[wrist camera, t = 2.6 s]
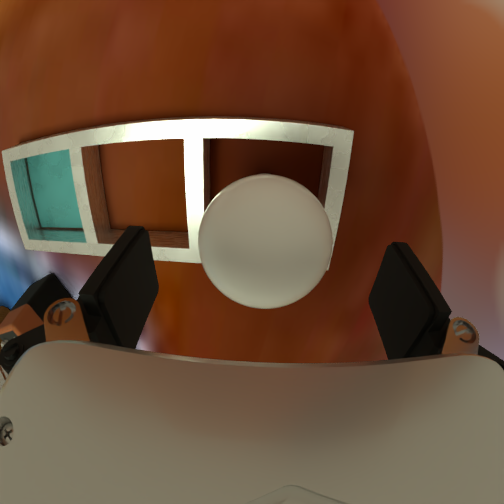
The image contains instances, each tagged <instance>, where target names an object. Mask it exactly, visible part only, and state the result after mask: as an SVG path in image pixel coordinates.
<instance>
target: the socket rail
mask: <svg viewBox="0 0 504 504" xmlns="http://www.w3.org/2000/svg"><path fill="white" fill-rule="evenodd" d="M353 134H354V131H352V130H350V129H348V128H345V127H343V126H336V125H330V124H323V123H315V122H307V121H297V120H287V119H275V118H259V117H232V116H201V117H174V118H159V119H147V120H137V121H128V122H120V123H113V124H106V125H99V126H93V127H88V128H82V129H77V130H72V131H67V132H62V133H58V134H54V135H50V136H45V137H42V138H38V139H34V140H30V141H27V142H23V143H20V144H17V145H15V146H12V147H10V148H8V149H6V150H3V151H2V156H3V163H4V169H5V174H6V180H7V185H8V189H9V194H10V198H11V202H12V206H13V210H14V214H15V217H16V221H17V224H18V228H19V231H20V234H21V237H22V240H23V243H24V246H25V249H27V250H38V251H49V252H60V253H72V254H83V255H96V256H106V254H107V253H108V252H109V250H110V249H111V248H112V246H113V245H114V244H115V243H116V241H117V240H118V239H119V237H120V236H121V235H122V234H123V232H124V231H125V230H119V229H111V227H110V222H109V216H108V211H107V205H106V199H105V193H104V187H103V180H102V172H101V164H100V155H99V145H100V144H108V143H117V142H128V141H139V140H154V139H175V138H184V160H185V186H186V206H187V222H188V232H170V231H148V232H149V237H150V243H151V248H152V254H153V259H154V260H162V261H177V262H192V263H201V259H200V255H199V249H198V233H199V227H200V223H201V220H202V217H203V215H204V213H205V211H206V209H207V207H208V205H209V204H210V138H240V139H261V140H276V141H289V142H299V143H309V144H318V145H324V152H323V160H322V168H321V176H320V183H319V190H318V197H317V199H318V200H319V202H320V203H321V204H322V206H323V208H324V209H325V211H326V213H327V216H328V218H329V221H330V225H331V230H332V238H333V245H332V252H333V247H334V243H335V238H336V234H337V229H338V224H339V219H340V214H341V209H342V204H343V198H344V193H345V187H346V181H347V175H348V169H349V162H350V156H351V149H352V141H353ZM44 227H60V228H44ZM331 256H332V254H331ZM330 261H331V258H330ZM329 265H330V262H329ZM329 265H328V267H327V270H328V269H329Z"/></svg>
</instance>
